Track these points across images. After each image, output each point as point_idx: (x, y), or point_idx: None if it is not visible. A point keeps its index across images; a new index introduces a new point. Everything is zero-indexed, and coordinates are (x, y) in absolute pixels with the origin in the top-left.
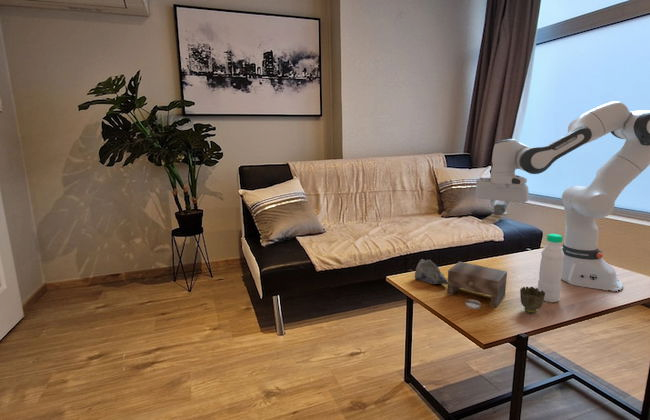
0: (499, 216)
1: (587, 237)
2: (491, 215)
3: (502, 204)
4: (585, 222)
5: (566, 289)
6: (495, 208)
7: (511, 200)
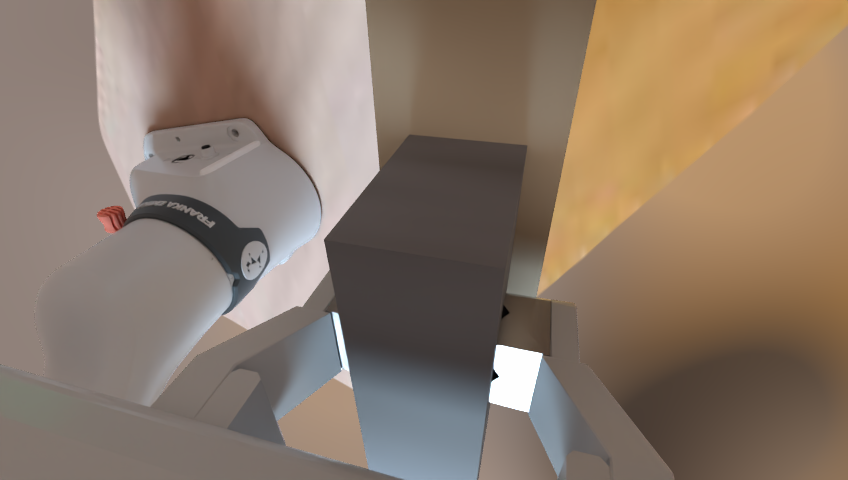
0: (388, 5)
1: (73, 259)
2: (564, 3)
3: (378, 410)
4: (50, 353)
5: (244, 59)
6: (487, 211)
7: (33, 405)
